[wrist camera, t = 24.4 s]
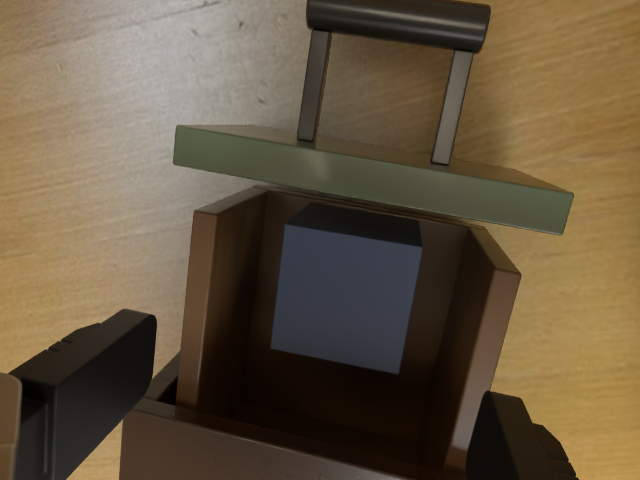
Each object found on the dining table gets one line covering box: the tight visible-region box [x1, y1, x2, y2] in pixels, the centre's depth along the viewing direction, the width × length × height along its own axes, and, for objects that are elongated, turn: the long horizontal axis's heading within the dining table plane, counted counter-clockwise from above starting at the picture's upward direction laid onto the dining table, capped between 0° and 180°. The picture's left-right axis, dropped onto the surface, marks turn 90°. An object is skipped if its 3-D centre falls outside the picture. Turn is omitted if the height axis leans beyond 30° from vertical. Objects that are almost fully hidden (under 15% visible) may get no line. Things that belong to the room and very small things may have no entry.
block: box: [270, 203, 423, 374], centre depth 19 cm, size 5×5×5 cm
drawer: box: [173, 0, 574, 477], centre depth 19 cm, size 18×11×7 cm, turn 171°
